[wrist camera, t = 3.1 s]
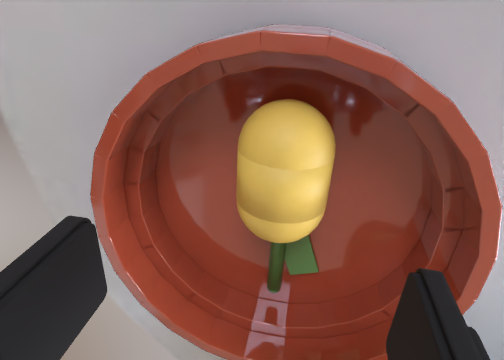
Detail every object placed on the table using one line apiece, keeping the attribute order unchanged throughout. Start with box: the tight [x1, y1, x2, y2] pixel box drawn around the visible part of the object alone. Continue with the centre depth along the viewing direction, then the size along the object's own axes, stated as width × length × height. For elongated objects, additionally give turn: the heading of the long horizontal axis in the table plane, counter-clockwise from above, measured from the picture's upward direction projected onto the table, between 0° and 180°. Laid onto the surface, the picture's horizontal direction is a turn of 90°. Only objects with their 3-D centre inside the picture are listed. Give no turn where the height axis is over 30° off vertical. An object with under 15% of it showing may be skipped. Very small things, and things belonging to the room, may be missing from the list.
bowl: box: [90, 24, 502, 360], centre depth 18 cm, size 18×18×4 cm
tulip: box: [236, 99, 336, 293], centre depth 18 cm, size 13×5×4 cm, turn 177°
